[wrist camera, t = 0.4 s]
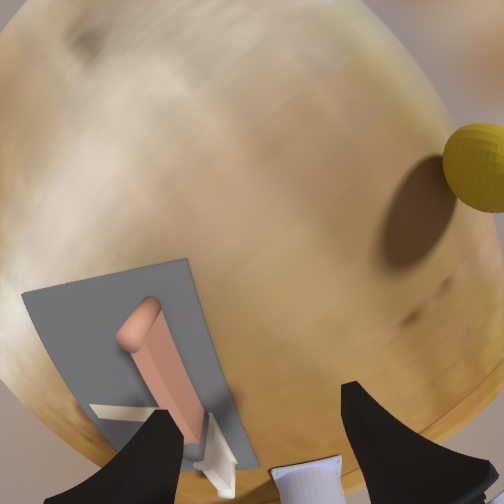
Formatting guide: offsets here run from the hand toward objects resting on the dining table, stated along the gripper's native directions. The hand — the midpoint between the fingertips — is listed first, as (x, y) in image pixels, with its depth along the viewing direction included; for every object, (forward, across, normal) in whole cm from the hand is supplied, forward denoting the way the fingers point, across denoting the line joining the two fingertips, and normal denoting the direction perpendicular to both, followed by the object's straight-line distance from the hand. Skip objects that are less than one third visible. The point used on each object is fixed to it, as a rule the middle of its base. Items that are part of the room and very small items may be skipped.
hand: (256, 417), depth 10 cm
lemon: (+9, -16, -8) cm, 20 cm away
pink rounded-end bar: (+8, +6, +3) cm, 10 cm away
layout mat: (+8, +11, +7) cm, 16 cm away
